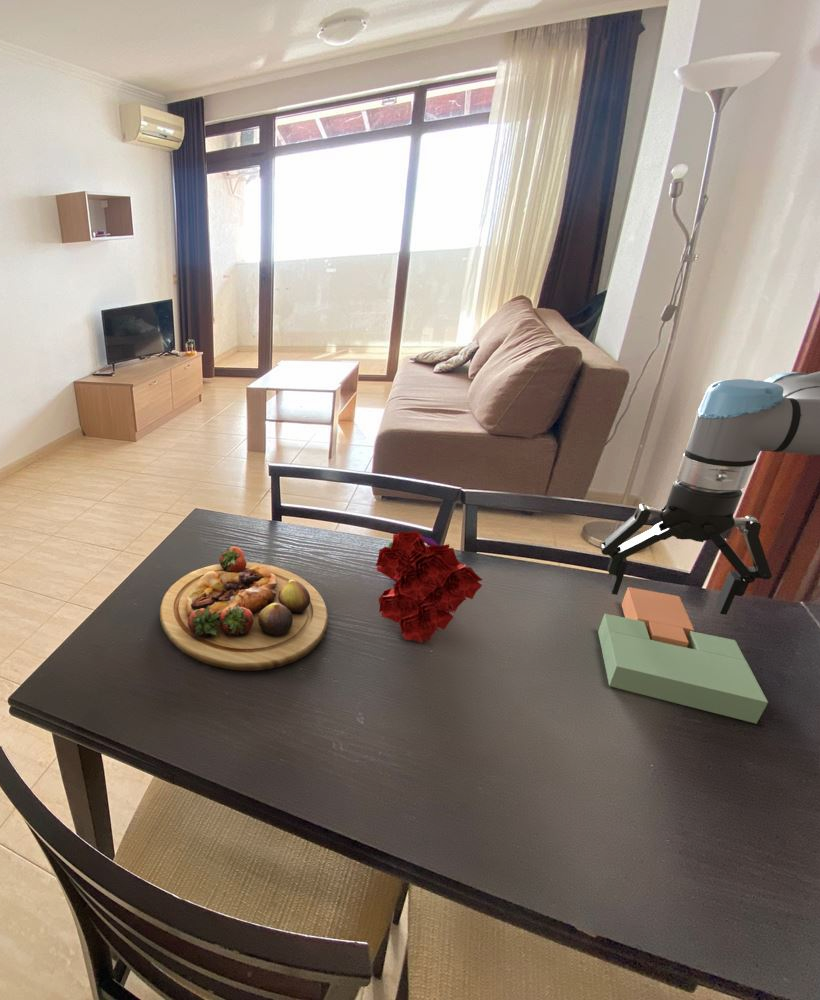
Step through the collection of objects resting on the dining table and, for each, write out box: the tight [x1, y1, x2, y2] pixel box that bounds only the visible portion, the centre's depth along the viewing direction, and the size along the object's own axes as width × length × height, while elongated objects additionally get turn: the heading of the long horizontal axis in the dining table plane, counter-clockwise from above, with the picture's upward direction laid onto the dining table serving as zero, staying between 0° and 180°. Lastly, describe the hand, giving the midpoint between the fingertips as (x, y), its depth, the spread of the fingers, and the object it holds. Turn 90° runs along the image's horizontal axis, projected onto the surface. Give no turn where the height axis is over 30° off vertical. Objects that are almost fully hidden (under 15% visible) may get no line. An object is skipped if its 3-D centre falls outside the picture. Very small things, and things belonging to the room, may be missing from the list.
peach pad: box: [621, 586, 695, 648], centre depth 90 cm, size 7×14×4 cm, turn 149°
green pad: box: [597, 613, 769, 725], centre depth 82 cm, size 16×14×4 cm
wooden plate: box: [159, 546, 329, 671], centre depth 103 cm, size 32×32×8 cm
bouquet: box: [375, 530, 483, 643], centre depth 104 cm, size 20×16×30 cm
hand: (664, 599), depth 90 cm, fingers open, 13 cm apart
